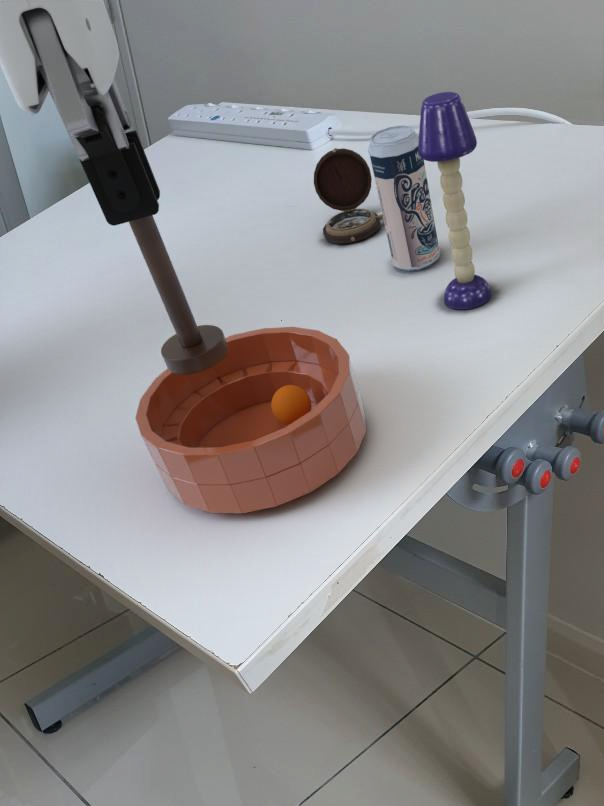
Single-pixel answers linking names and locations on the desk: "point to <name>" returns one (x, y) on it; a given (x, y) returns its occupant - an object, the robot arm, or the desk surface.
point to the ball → (290, 404)
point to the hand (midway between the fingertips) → (135, 209)
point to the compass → (345, 195)
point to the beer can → (404, 197)
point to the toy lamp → (453, 189)
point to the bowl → (254, 422)
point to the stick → (178, 308)
